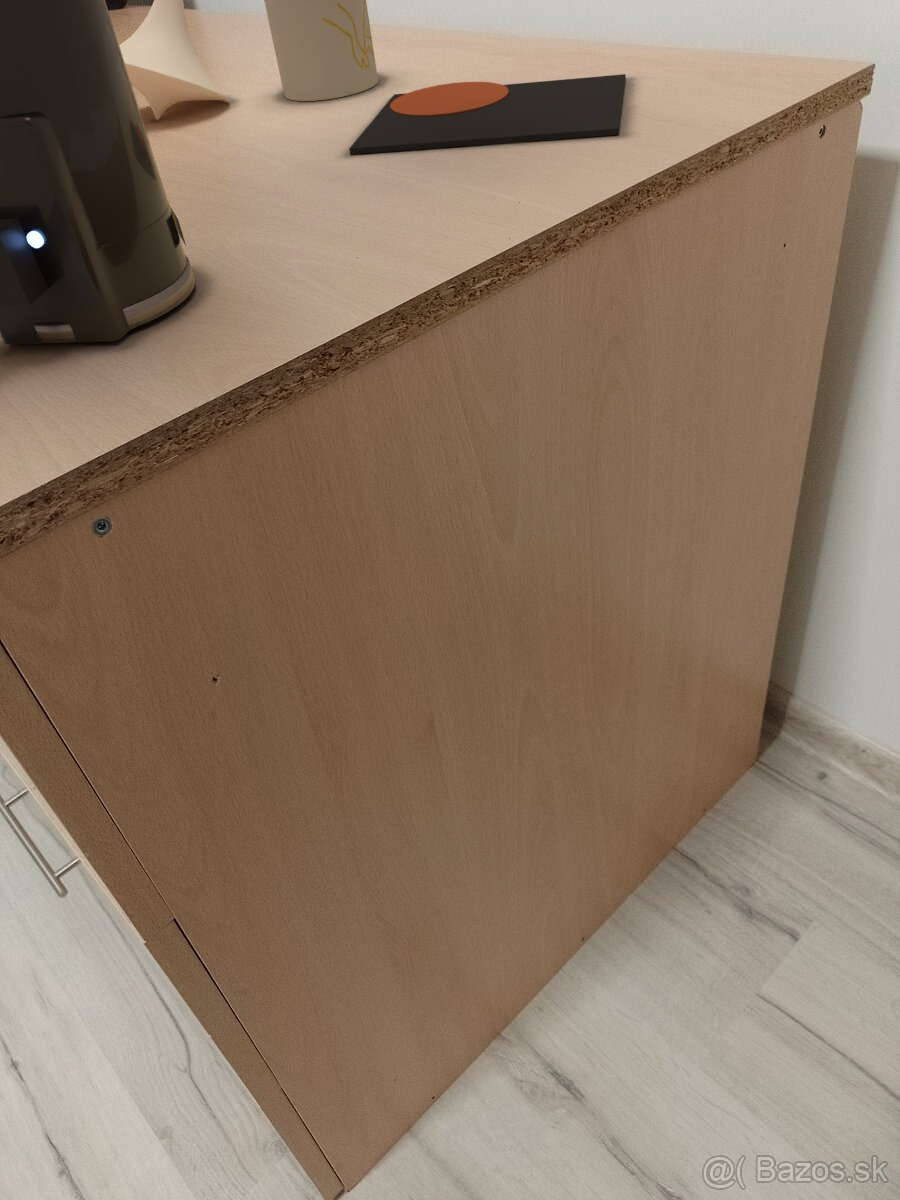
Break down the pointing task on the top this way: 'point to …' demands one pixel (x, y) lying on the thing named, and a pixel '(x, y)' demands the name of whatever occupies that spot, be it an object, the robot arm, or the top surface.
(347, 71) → the cup
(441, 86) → the placemat
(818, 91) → the top surface
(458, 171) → the top surface
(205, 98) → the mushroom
